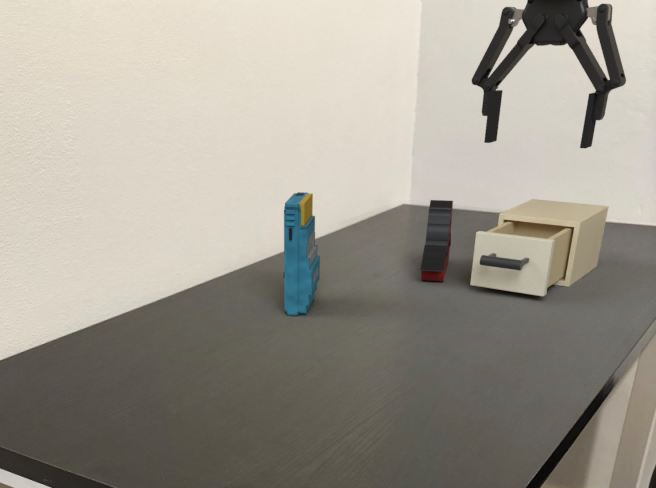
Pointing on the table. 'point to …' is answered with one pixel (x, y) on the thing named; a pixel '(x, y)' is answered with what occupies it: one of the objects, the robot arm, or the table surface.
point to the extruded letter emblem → (437, 241)
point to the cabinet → (575, 215)
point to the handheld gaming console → (300, 254)
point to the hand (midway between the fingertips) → (536, 144)
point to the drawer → (521, 257)
